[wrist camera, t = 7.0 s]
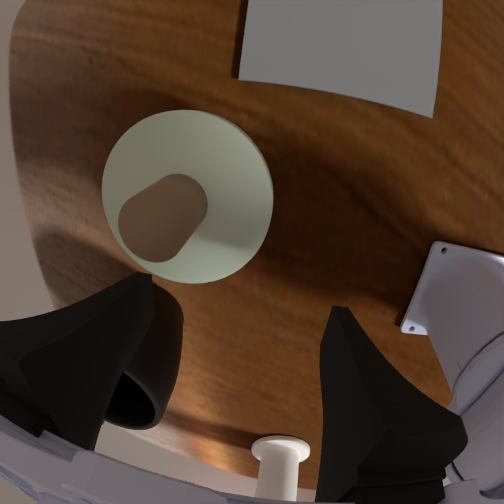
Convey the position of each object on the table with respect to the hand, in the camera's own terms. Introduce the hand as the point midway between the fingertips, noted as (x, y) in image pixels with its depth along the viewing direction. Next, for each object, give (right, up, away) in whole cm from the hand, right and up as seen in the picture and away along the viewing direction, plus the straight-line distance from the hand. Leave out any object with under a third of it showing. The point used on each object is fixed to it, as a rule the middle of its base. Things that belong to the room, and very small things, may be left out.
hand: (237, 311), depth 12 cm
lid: (-3, +5, +4) cm, 7 cm away
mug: (-9, -4, +15) cm, 17 cm away
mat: (+6, +16, +2) cm, 18 cm away
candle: (+4, -21, +21) cm, 30 cm away
